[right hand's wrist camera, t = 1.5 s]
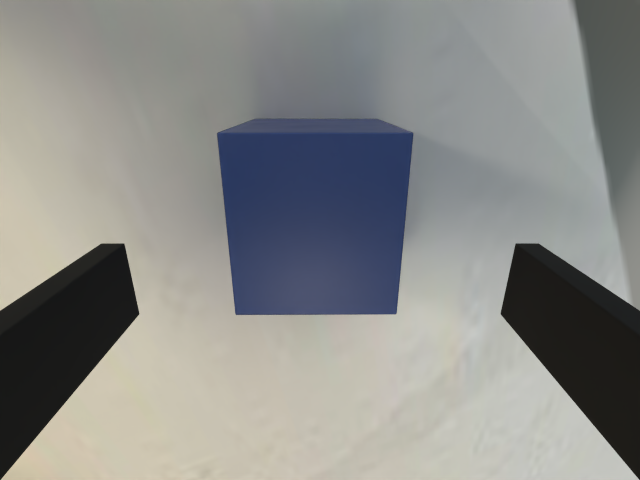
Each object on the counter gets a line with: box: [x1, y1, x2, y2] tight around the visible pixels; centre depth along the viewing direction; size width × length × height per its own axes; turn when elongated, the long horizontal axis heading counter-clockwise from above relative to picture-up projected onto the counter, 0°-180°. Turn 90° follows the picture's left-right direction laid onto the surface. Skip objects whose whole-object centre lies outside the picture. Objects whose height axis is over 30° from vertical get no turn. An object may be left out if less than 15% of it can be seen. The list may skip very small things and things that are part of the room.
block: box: [217, 119, 413, 315], centre depth 20 cm, size 9×8×9 cm
